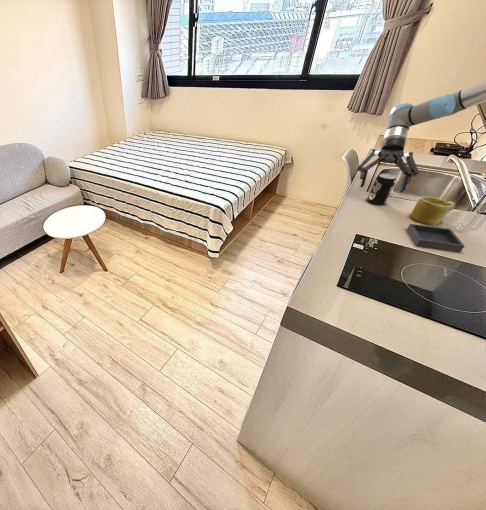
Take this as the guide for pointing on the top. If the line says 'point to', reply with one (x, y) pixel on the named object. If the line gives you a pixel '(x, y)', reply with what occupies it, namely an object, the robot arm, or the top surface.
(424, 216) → the mug
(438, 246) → the dark grey tray
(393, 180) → the beverage can
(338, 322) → the top surface
